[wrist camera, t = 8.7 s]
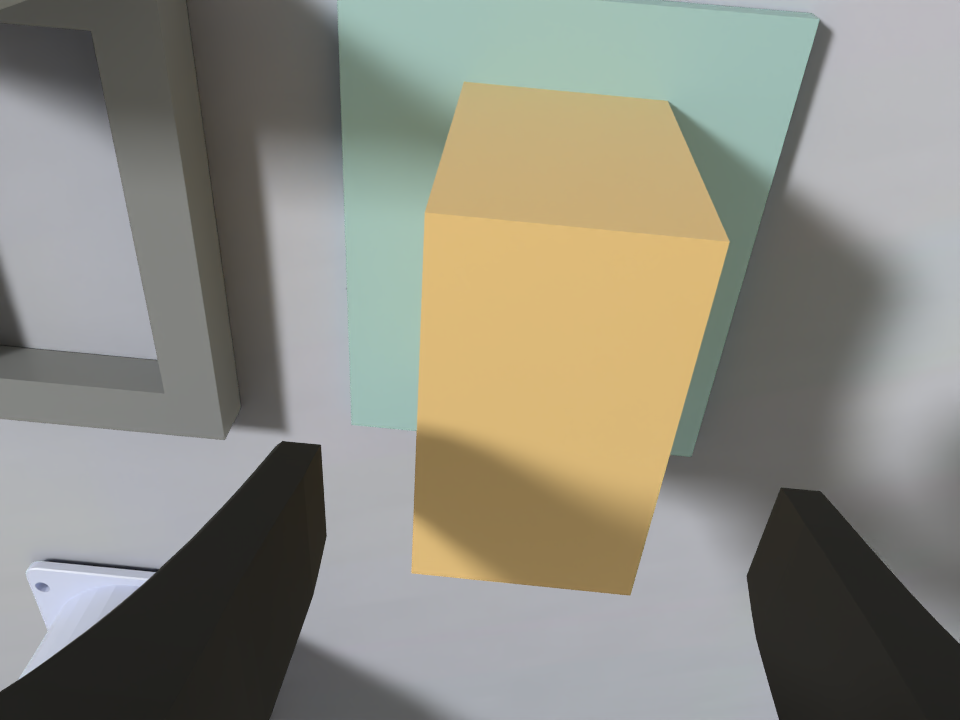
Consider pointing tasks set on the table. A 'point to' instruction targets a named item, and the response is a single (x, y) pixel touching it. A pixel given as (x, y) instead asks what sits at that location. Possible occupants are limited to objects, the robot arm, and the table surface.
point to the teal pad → (554, 66)
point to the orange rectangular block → (556, 334)
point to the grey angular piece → (143, 239)
